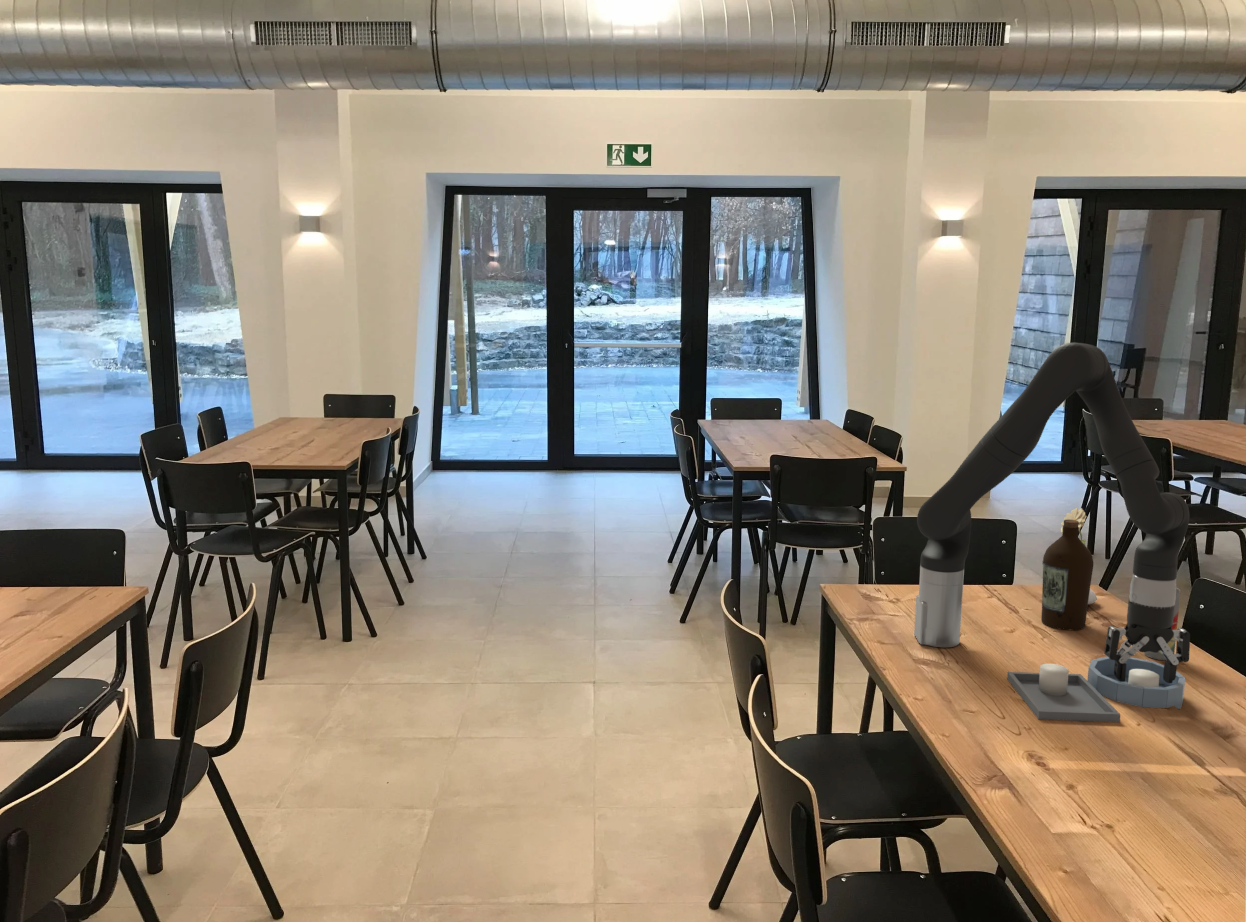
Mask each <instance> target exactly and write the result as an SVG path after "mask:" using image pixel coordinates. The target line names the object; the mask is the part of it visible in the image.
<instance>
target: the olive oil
mask: <svg viewBox="0 0 1246 922" xmlns="http://www.w3.org/2000/svg"><path fill="white" fill-rule="evenodd" d="M1063 521H1064V526H1062V527H1063V532H1062V533H1061V534H1062V535H1061V536H1059V537H1058V539H1056V540H1055V541H1054V542H1052V543H1051V544H1050V545H1049V546H1048V547H1047V548H1046V550H1045V552H1044V554H1043V558H1042V590H1041V591H1042V594H1041V617H1040V618H1041V622H1042V624H1044V625H1045V626H1048V627H1051V628H1053V629H1058V630H1063V631H1064V630H1065V631H1079V630H1082V629H1084V628H1086V623H1087V614H1088V606H1089V604H1088V599H1089V592H1090V589H1091V584H1092V577H1093V570H1094V558H1093V554H1092V553H1091V551H1090V549H1089V548H1088V546H1086V544H1085V545H1084V544H1083V543H1082V541H1081V538H1079V527H1078V525H1079V521H1077V520H1070V519H1067V520H1064V519H1063Z"/></svg>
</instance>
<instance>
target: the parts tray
mask: <svg viewBox="0 0 1246 922" xmlns="http://www.w3.org/2000/svg"><path fill="white" fill-rule="evenodd" d="M1006 673H1007V674H1006V675H1007V677H1006V680H1007V681H1008V682H1009V684H1010V685H1011V686H1012V687H1013V689H1014V691H1016V693H1017V694H1018V695H1019V696H1020V698H1021V699H1022V700H1023V702H1024V703H1025V704H1026V705H1027V707H1028V708H1029V709H1030V711H1031V712H1032V713H1033V715H1034V716H1035V717H1036V719H1037V720H1046V721H1066V722H1067V721H1068V722H1069V721H1075V722H1098V723H1118V724H1119V723H1120V722H1121V714H1120V712H1119V711H1118V710H1117V709H1116V708H1115V707H1114V706H1113V705H1112V704H1111V703H1110V702H1109V701H1108V699H1106V697H1105V696H1103V695H1101V694H1100V693H1099V692H1098V691H1097V690H1096V689H1095V688H1094V687H1093V686H1092V685H1091V684H1090V683H1089V682H1088V681H1087V680H1088V679H1086V678H1085V676H1083V674H1082V673H1081V674H1078V673H1069V674H1068V686H1067V694H1066V695H1064V696H1052V695H1048V694H1045V693H1042V692H1041V691H1040V690H1039V689H1038V688H1039V675H1040V672H1023V671H1022V672H1021V671H1007V672H1006Z"/></svg>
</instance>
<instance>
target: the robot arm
mask: <svg viewBox="0 0 1246 922" xmlns="http://www.w3.org/2000/svg"><path fill="white" fill-rule="evenodd" d="M1114 376H1115V375H1114V373H1113V370H1112V367H1111V365H1110V361H1109V359H1108V358H1107V355H1106V354H1105V352H1104V351H1103V350H1102V349H1101V348H1099V347H1097V346H1096V345H1093V344H1088V343H1083V342H1067V343H1063V344H1061V345H1059V346H1058V347H1056V348H1054V349H1053V350H1052V351H1051V353H1050V354H1048V356H1047V357H1046V359H1045V360H1044V361H1043V363H1042V365H1040V367H1039V369H1038V370H1037V372H1036V373H1035V375H1034V376H1033V378H1032V379H1031V381H1030V382H1029V383H1028V385H1027V386H1026V387H1025V389H1024V390H1023V392H1021V394H1020V395H1019V396H1018V397H1017V398H1016V399H1015V400H1014V401H1013V402H1012V403H1011V404H1010V406H1009V407H1008V408H1007V410H1006V411H1004V413H1003V414H1002V415H1001V416H1000V418H998V420H997V421H996V422H995V423H994V424H993V425H991V427H990V428H989V430H987V432H985V434H984V435H983V436H982V437H981V439H980V440H979V441H978V442H977V444H976V445H975V446H974V448H973V449H972V450H971V451H970V453H969V454H968V455H967V456H966V457H965V458H964V460H963V461H962V463H961V464H960V466H959V467H958V468H957V470H956V471H955V472H954V474H953V475H952V476H951V477H950V478H949V479H948V480H947V481H946V482H945V483H944V484H943V485H942V486H941V487H940V488H939V489H938V490H937V491H936V492H934V493H933V495H932V496H931V497H929V498H928V499H926V501H925V502H924V503H922V505H921V506H920V508H919V509H918V512H917V513H918V514H917V516H916V517H917V518H916V524H917V527H918V530H919V532H920V533H921V535H923V536H924V537H925V538H927V539H928V540H927V542H926V545H925V548H924V549H923V550H922V552H921V554H920V562H919V563H920V564H919V565H920V566H919V585H918V586H919V587H918V594H917V595H916V597H915V614H914V616H915V617H914V629H913V630H914V634H913V635H914V637H915V636H916V637H915V639H916V638H917V639H916V640H917V642H918V643H920V645H926V646H929V647H936V648H952V647H953V648H954V647H956V646H958V645H959V644H960V641H961V626H962V625H961V624H962V609H963V594H964V593H963V592H964V575H965V562H966V561H967V560H966V559H967V557H968V553H969V549H970V541H971V530H972V512H971V509H972V508H973V506H975V504H976V503H977V502H979V500H980V499H982V498H983V497H984V496H985V495H986V494H988V493H989V492H990V491H991V490H993V489H995V488H996V487H997V486H998V485H1000V484H1001V483H1002V482H1004V480H1005V479H1007V478H1008V477H1009V476H1011V475H1012V474H1013V473H1014V472H1015V471H1016V470H1017V469H1018V468H1019V467H1020V466H1021V464H1023V462H1025V460H1026V459H1027V458H1028V457H1029V456H1030V455H1031V453H1033V451H1034V450H1035V449H1036V447H1037V445H1038V443H1039V441H1040V439H1041V438H1042V434H1043V432H1044V430H1045V427H1046V425H1047V424H1048V421H1049V420H1050V418H1051V416H1052V415H1053V413H1055V411H1056V410H1057V409H1058V408H1059V407H1060V406H1061V405H1062V404H1063V403H1064V402H1065V401H1066V400H1067V399H1068V398H1069V397H1070V396H1071V395H1073V394H1074V393H1075V392H1076V393H1077V394H1078V395H1079V397H1080V399H1082V400H1083V402H1084V403H1085V405H1086V406H1087V408H1088V410H1089V412H1090V413H1091V416H1092V418H1093V421H1094V424H1095V427H1096V428H1095V429H1096V431H1097V435H1098V439H1099V444H1100V448H1101V449H1102V452H1103V454H1104V457H1105V459H1106V461H1107V462H1108V464H1109V466H1110V469H1111V470H1112V472H1113V473H1114V475H1115V476H1116V479H1117V481H1118V483H1119V484H1120V488H1121V494H1122V497H1123V501H1124V505H1125V508H1126V512H1127V514H1128V516H1129V518H1130V520H1131V522H1132V523H1133V524H1134V526H1135V527H1136V528H1137V529H1139V530H1140V531H1141V532H1143V533H1144V534H1145V537H1144V539H1143V541H1142V542H1140V544H1138V545H1137V546H1136V548H1135V551H1134V555H1133V565H1132V574H1131V575H1132V576H1131V579H1130V585H1129V591H1128V605H1127V611H1126V612H1127V613H1126V624H1125V627H1124V628H1123V627H1122V628H1121V627H1116V626H1114V625H1109V626H1107V632H1106V638H1105V639H1106V640H1105V644H1104V652H1103V653H1104V655H1105V657H1106V656H1108V657H1109V658H1110V659H1111V660H1115V664H1114V676H1115V677H1116V678H1117V679H1118V680H1119V681H1120V682H1125V675H1126V665H1127V664H1126V663H1125V662H1126V661H1127V660H1128V659H1129V658H1130V657H1133V656H1135V655H1136V654H1138V652H1140V653H1144V652H1148V651H1150V652H1154V653H1158V651H1161V652H1162V654H1163V655H1164V657H1165V658H1166V659H1167V660H1164V664H1163V665H1164V672H1163V680H1164V681H1165V682H1167V683H1172V681H1173V680H1175V678H1176V671H1177V667H1178V665H1179V664H1180V663H1188V662H1189V660H1190V648H1191V647H1190V645H1191V633H1190V632H1189V631H1187V630H1186V629H1184V628H1183V627H1177V630H1172V625H1173V618H1174V608H1175V601H1176V588H1177V580H1176V573H1177V574H1178V571H1177V570H1178V560H1179V559H1178V558H1179V554H1180V551H1181V548H1182V546H1183V544H1184V542H1185V541H1184V540H1185V537H1186V534H1187V531H1188V527H1189V523H1190V510H1189V508H1190V507H1189V505H1188V504H1187V502H1186V500H1185V499H1184V498H1183V497H1182V496H1180V495H1179V494H1176V493H1174V492H1160V491H1159V488H1158V485H1157V482H1156V479H1158V477H1159V475H1160V469H1159V467H1158V464H1157V463H1156V460H1155V459H1154V457H1153V455H1152V453H1151V452H1150V449H1149V448H1148V447H1147V445H1146V443H1145V442H1144V439H1143V438H1142V436H1141V434H1140V432H1139V431H1138V429H1137V427H1136V425H1135V423H1134V422H1133V419H1132V417H1131V415H1130V414H1129V411H1128V409H1127V407H1126V405H1125V403H1124V399H1123V398H1122V395H1121V392H1120V390H1119V388H1118V385H1117V384H1118V383H1117V382H1116V378H1115V377H1114ZM1124 636H1125V638H1126V639H1125V640H1124V641H1123V642H1122V643H1121V644H1120V648H1118V647H1119V642H1120V640H1122V638H1123V637H1124ZM1173 636H1174V638H1175V640H1176V642H1175V653H1174V654H1173V652H1172V650H1171V649H1170V647H1169V646H1168V645H1167V643H1168V642H1169V641H1170V640H1171V639H1172V638H1173Z"/></svg>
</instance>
